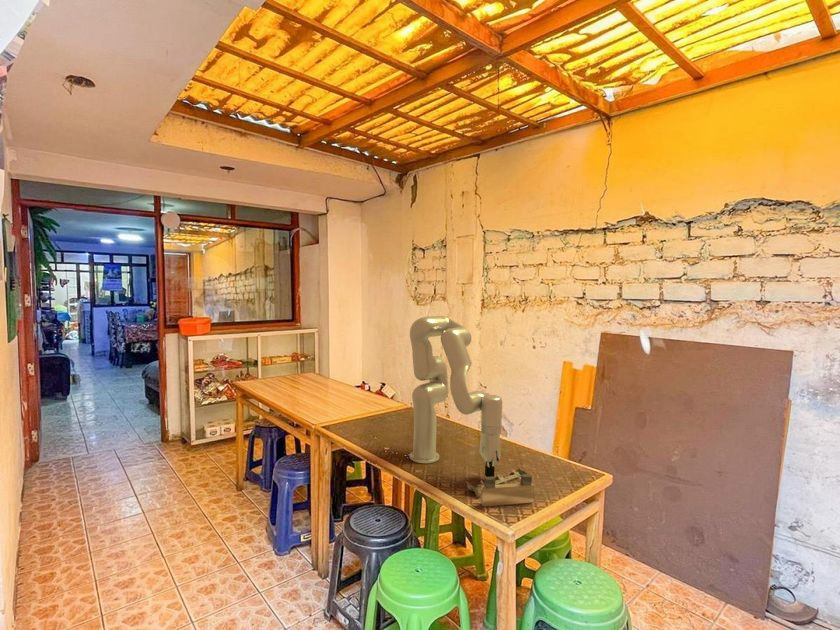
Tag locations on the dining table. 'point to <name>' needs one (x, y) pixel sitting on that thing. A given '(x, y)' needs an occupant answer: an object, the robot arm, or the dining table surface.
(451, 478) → the dining table surface
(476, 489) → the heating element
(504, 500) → the notched board
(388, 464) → the dining table surface
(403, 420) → the dining table surface
